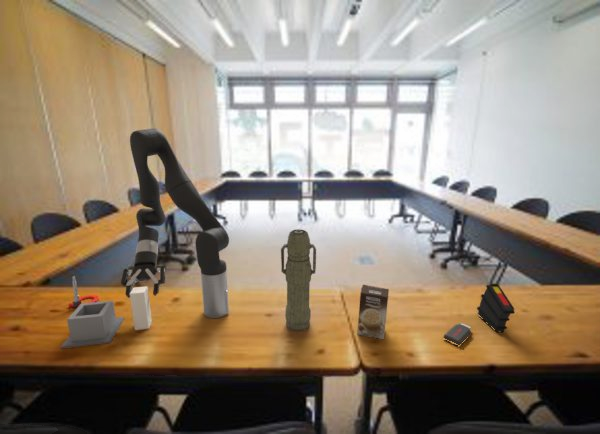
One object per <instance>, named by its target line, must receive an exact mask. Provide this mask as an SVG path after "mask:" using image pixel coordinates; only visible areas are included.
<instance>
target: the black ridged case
mask: <svg viewBox="0 0 600 434" xmlns="http://www.w3.org/2000/svg"><path fill="white" fill-rule="evenodd" d="M485 287H486V289H485V290H484V293H482V294H481V295H480V298H481V299H480V303H479V306H477V308H476V309H477V311H478V312H477V315H478V314H479V315H480V316H481V317H482V318H483V319H484V320H485V321H486V322H487V323H488V324H489V325H490V326H492V327H493V328H494V329H495V330H496V331H504V332H505V330H507V329H508V327H507V326H506V325H507V322H509V321H510V318H509V317H510V316H511V314H515V312H516V311H515V308H514V306H513V304H512V303H511V301H510V299H508V297H507V295H506V294H505V292H504V291H503V289H502V288H501V286H500V285H499V284H498V283H490V284H487V285H485ZM488 324H487V325H488ZM489 325H488V326H489ZM490 326H489V327H490Z"/></svg>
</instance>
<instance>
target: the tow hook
mask: <svg viewBox="0 0 600 434" xmlns="http://www.w3.org/2000/svg"><path fill="white" fill-rule="evenodd" d="M72 289H73V301H72V302H70V303H68V307H69V308H76V309H77V308H78V307H79V306H80V304H81V303H82V301H83V300H87V299H92V300H90V301H88V302H86V303H92V302H99V300H100V297H99V296H98V295H95V294H90V295H84V296H81V297H80V295H79V293H78V285H77V280H76V276H75V275H73V276H72Z"/></svg>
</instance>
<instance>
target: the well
mask: <svg viewBox="0 0 600 434" xmlns="http://www.w3.org/2000/svg"><path fill="white" fill-rule="evenodd" d="M66 320H67V321H66V322H67V328H68V331H69V336H68V337H67V339H65V340H64V342H63V343H62V344H61V346H60V347H61V349H67V348H68V349H69V348H77V347H85V346H92V345H94V346H95V345H102V344H109V343H110V344H111V343H112V341H113V339H114V338H115V336H116V334H117V332H118V330H119V329H120V328H121V326H122V324H123V322H124V320H125V316H121V317H117V316H116V309H115V305H114V300H105V301H97V302H92V303H87V302H83V303H82V302H81V304H80V306H79V307H78V308H76V309H75V310H74V311H73V312H72V313H71V315H70V316H69V317H68V318H67V319H66Z"/></svg>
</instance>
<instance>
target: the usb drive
mask: <svg viewBox="0 0 600 434" xmlns="http://www.w3.org/2000/svg"><path fill="white" fill-rule="evenodd" d="M471 329H472V327H471V326H469V325H467V324H464V323H463V322H462V323H458V324H457V323H456V324H455V325H454V326H452V327H451V328H450V329H449V330H448V331H447V332H446V333H444V335H443V338H445V339H447V340H449V341H452V342H454V343H456V344H458V345H460V344H461V343H462V342H463V341H464V340H465V339H466V338H467V337H468V336H469V335H470V336H471V331H470V330H471ZM470 336H469V337H470Z"/></svg>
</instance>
